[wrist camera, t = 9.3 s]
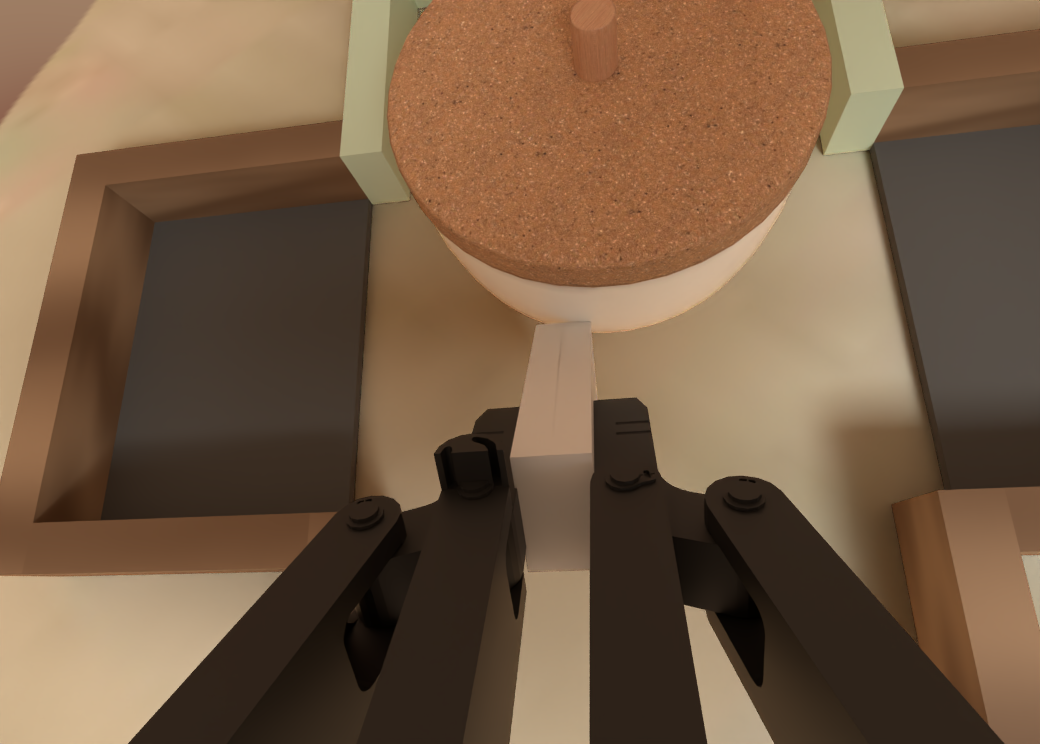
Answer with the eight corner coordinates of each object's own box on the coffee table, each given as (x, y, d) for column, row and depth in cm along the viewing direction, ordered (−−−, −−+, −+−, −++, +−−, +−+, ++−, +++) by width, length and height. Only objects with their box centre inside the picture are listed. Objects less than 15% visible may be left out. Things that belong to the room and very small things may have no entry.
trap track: (1662, 1141, 13) (2458, 1572, 7) (-22, 993, 19) (-303, 1170, 13) (1113, -130, 24) (1260, -347, 19) (169, 22, 30) (62, -108, 24)
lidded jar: (402, 271, 24) (267, 81, 15) (581, 70, 25) (553, -207, 17) (642, 445, 20) (649, 330, 11) (831, 198, 22) (964, -67, 13)
